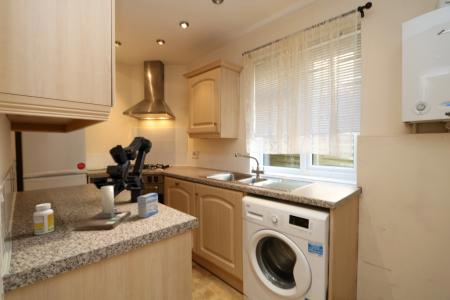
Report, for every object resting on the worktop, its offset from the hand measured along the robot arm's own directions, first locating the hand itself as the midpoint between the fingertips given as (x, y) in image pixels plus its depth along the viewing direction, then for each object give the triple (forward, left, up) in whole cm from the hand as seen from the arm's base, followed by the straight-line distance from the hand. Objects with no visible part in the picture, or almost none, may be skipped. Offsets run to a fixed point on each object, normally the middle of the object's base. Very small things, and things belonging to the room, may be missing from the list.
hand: (111, 199), depth 89 cm
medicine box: (+5, +14, -8) cm, 17 cm away
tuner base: (+4, -2, -8) cm, 9 cm away
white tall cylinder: (+3, 0, -6) cm, 7 cm away
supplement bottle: (+2, -21, -8) cm, 23 cm away
